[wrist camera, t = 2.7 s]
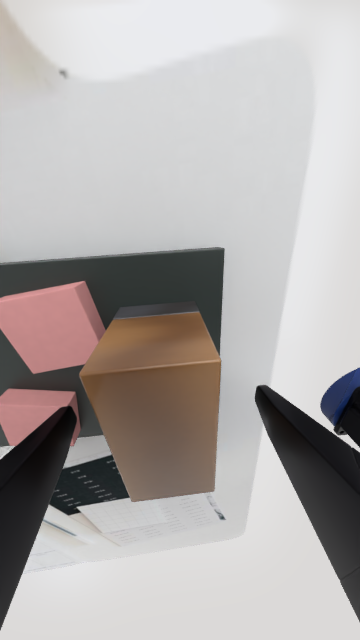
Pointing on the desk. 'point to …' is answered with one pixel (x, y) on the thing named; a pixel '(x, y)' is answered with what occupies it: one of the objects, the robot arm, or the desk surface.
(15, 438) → the crumb
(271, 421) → the robot arm
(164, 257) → the slate
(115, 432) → the brown block
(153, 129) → the desk surface
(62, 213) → the desk surface
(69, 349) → the crumb
